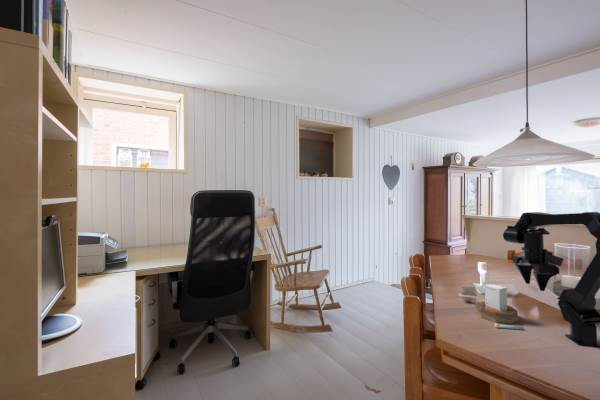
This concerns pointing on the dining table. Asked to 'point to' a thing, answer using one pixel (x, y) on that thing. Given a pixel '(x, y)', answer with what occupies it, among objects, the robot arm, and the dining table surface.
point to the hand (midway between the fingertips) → (534, 287)
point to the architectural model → (469, 293)
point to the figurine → (482, 278)
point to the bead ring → (497, 314)
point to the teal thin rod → (508, 327)
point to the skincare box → (496, 298)
